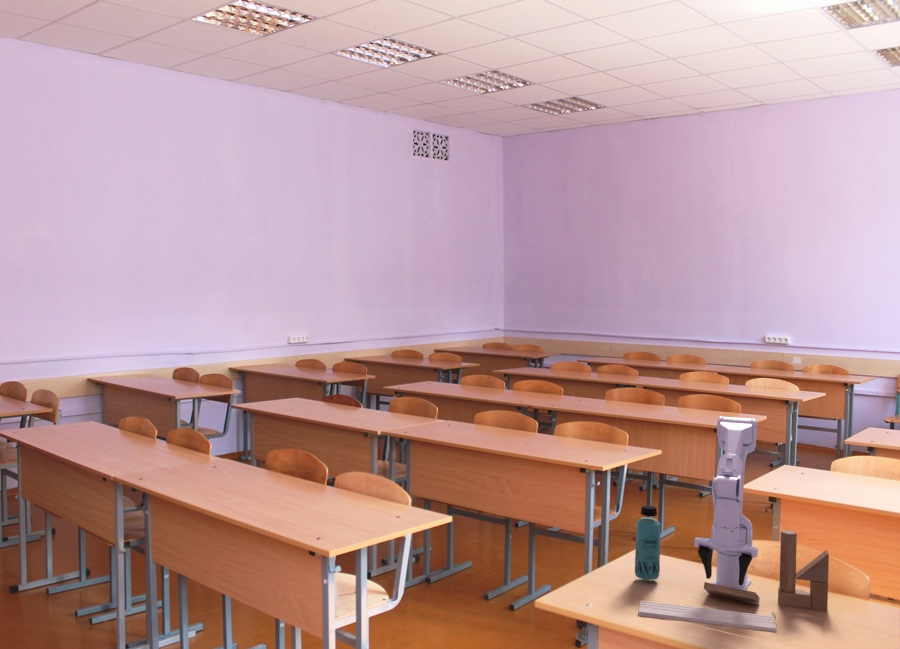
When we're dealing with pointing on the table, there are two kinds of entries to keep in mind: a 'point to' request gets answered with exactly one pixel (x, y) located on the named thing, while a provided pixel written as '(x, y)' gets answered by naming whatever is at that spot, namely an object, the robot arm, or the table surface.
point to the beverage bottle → (647, 545)
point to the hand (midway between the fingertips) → (724, 580)
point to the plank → (731, 593)
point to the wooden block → (802, 577)
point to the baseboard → (707, 615)
